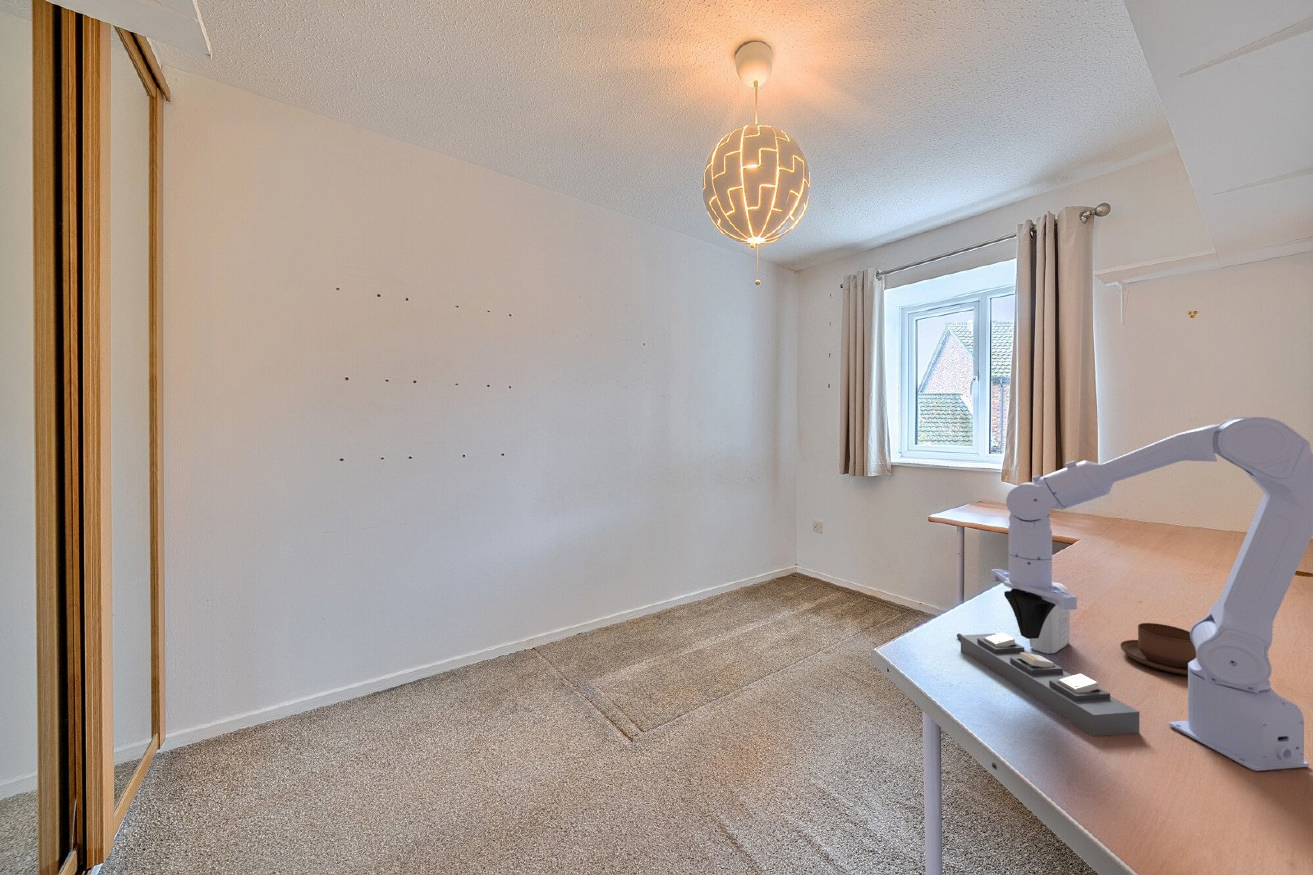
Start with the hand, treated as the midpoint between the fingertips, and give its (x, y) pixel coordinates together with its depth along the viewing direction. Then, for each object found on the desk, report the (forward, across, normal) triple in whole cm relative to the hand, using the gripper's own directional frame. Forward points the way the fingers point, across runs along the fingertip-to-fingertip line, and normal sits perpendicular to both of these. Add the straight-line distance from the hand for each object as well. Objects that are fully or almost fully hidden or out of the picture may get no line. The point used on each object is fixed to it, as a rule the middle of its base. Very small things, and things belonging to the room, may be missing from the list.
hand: (1029, 636), depth 80 cm
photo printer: (+8, -13, +16) cm, 22 cm away
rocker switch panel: (+8, -3, +1) cm, 9 cm away
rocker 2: (+4, +8, +1) cm, 9 cm away
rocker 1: (+4, -8, +1) cm, 9 cm away
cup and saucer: (+9, -4, +30) cm, 31 cm away
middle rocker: (+4, 0, +1) cm, 4 cm away
